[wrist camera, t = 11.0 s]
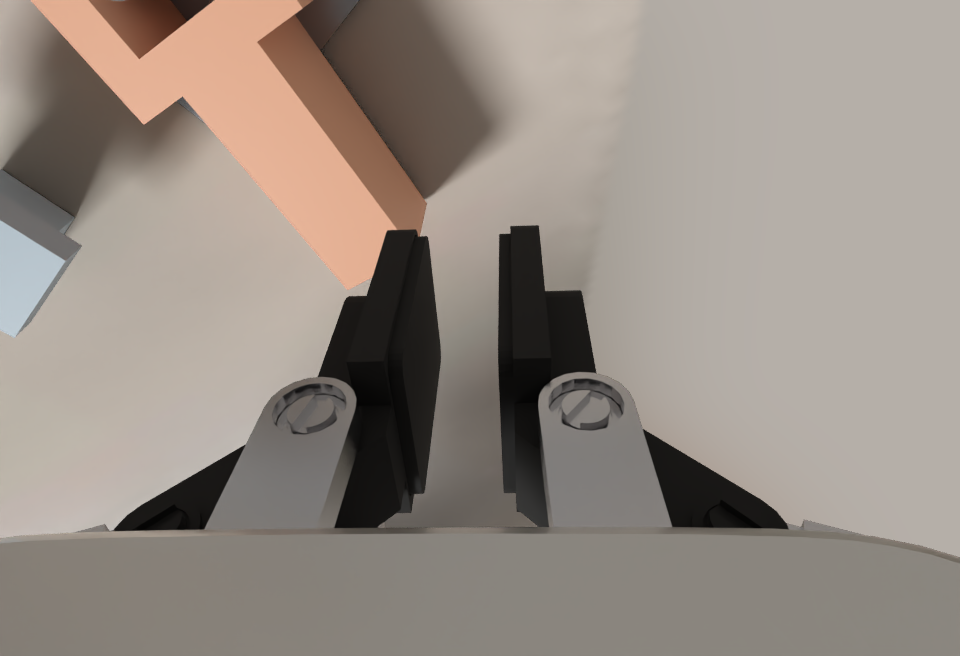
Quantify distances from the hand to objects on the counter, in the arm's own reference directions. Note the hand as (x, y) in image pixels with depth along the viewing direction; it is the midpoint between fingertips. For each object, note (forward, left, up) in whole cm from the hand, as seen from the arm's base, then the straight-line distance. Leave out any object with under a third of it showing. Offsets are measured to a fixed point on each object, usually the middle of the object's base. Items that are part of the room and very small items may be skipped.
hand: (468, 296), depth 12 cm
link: (+6, +4, -13) cm, 15 cm away
